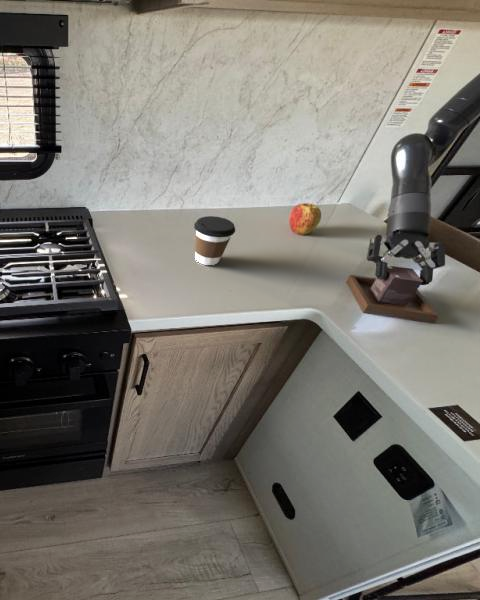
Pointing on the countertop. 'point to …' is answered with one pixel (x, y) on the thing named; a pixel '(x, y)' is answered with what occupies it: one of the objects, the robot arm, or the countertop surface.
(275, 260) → the countertop surface
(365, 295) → the brown wooden tray
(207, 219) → the coffee cup
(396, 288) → the box
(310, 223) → the apple
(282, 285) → the countertop surface
